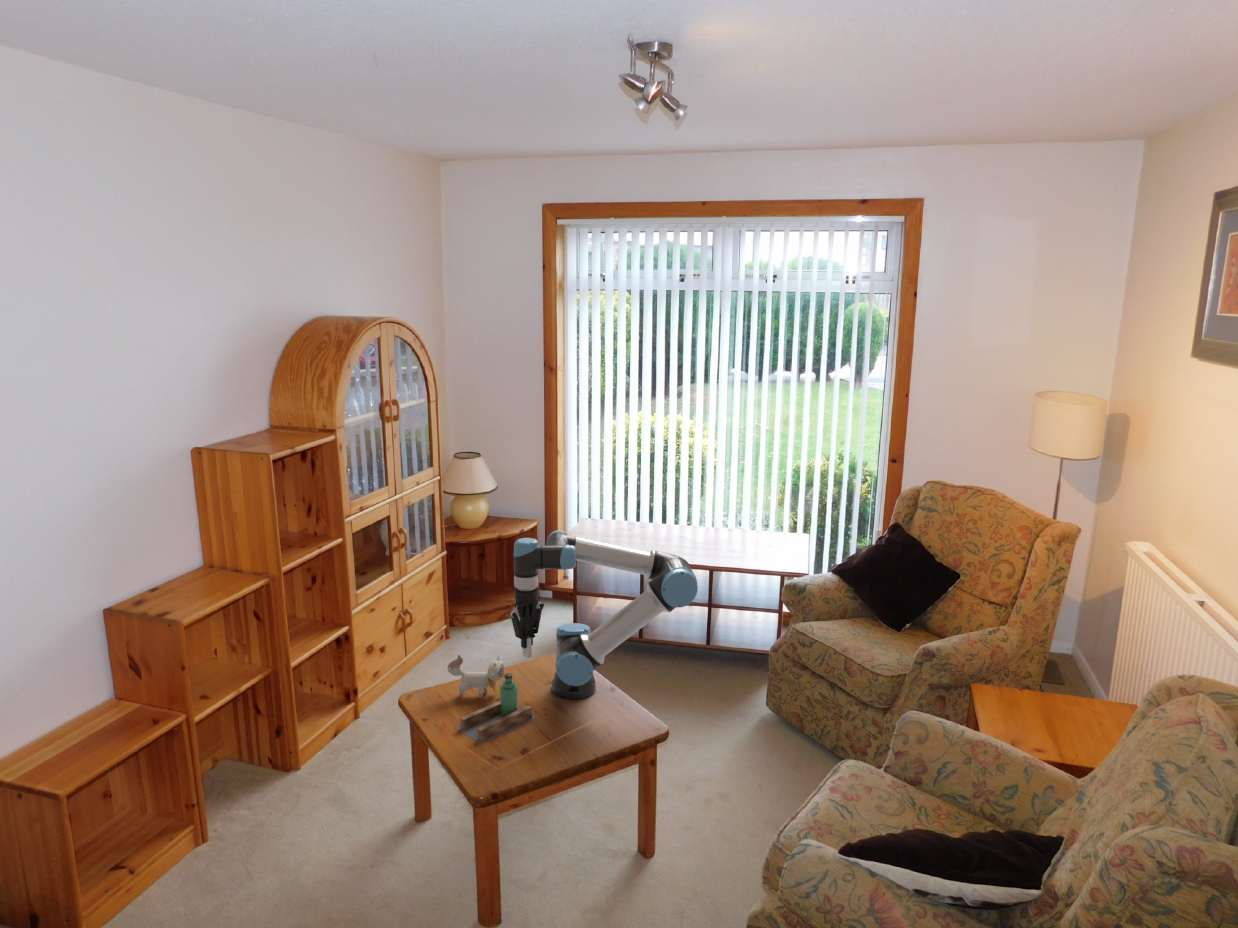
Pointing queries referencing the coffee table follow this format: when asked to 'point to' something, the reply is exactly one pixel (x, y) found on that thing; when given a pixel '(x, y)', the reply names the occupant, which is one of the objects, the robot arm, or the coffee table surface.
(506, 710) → the bottle
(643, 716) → the coffee table surface
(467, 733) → the mat
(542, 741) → the coffee table surface
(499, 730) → the rest
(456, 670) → the toy
